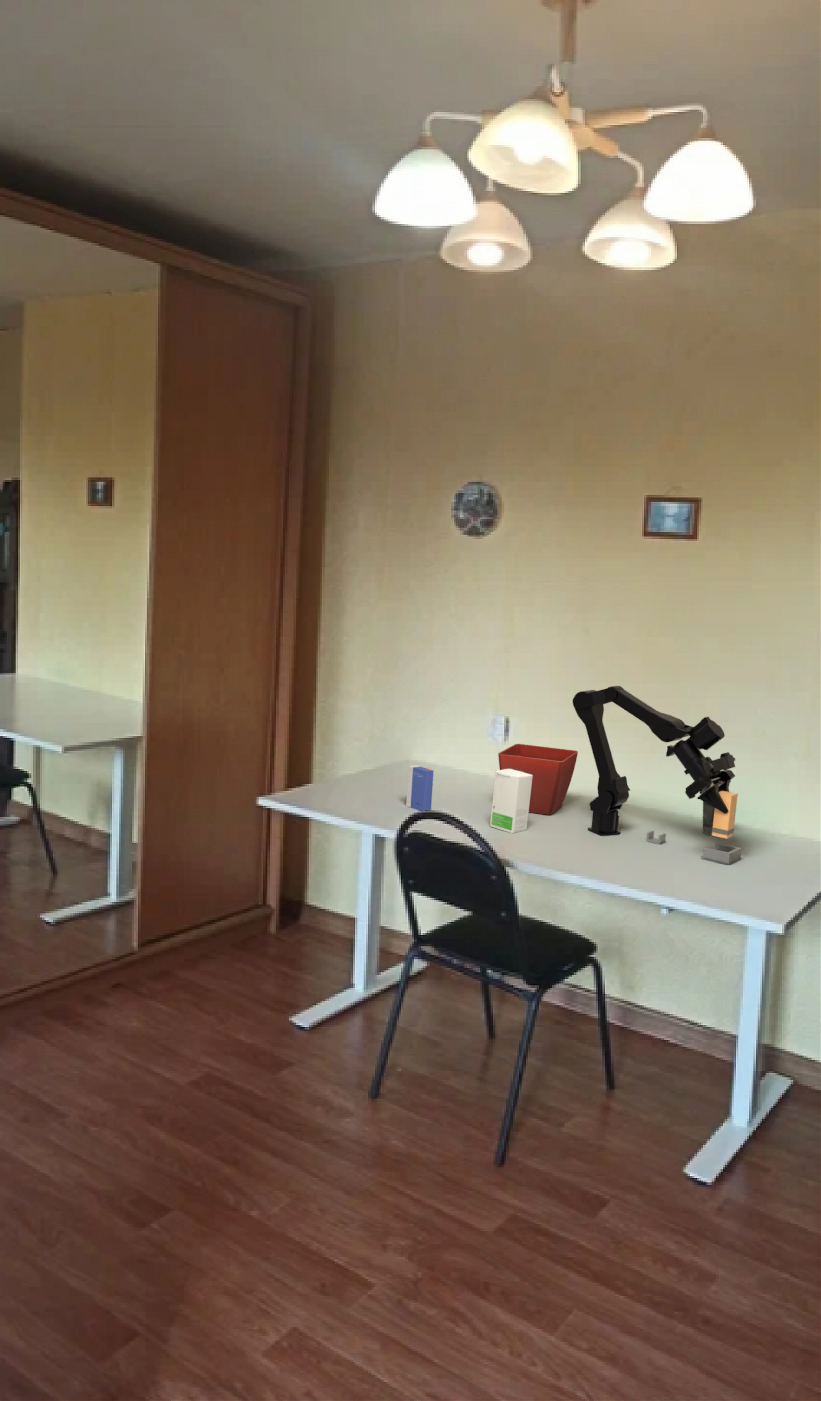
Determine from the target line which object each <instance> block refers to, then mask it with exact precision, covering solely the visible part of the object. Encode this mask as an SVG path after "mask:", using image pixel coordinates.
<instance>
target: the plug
mask: <svg viewBox="0 0 821 1401" xmlns="http://www.w3.org/2000/svg"><path fill="white" fill-rule="evenodd" d="M719 794H720V796H721V798H722V800H723V801H724V803H725V805H726V807H727V809H728V812H727V813H726V814H725V813H723V812H721V811H719V810H718V809H716V808H715V810H714V819H713V827H712V835H711V836H714V837H718V838H720V839H727V840H728V839H729V838H732V837H734V832H735V824H736V822H735V821H736V813H737V804H738V794H739V793H737V792H732V791H729V792H727V791H720V792H719Z"/></svg>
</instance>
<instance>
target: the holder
mask: <svg viewBox="0 0 821 1401" xmlns="http://www.w3.org/2000/svg"><path fill="white" fill-rule="evenodd" d="M741 850H742V848H741V847H737V846H733V845H728V844H724V843H721V842H720V843H719V842H714V848H710V847H704V848H703V855H702V856H701V855H700V859H701V860H705V861H709V862H713V863H718V864H722V865H725V866H730V865H732V864H734V863H737V862H738V861H740V860H741V853H742V852H741Z"/></svg>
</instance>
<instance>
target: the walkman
mask: <svg viewBox="0 0 821 1401" xmlns="http://www.w3.org/2000/svg"><path fill="white" fill-rule="evenodd" d="M407 773H408V774H407V775H408V776H407V787H406V801H405V802H406V803H405V804H406V807H408V806H409V808H412V809H415V810H417V811H420V812H423V811H425V810H431V811H432V799H433V798H432V797H433V784H434V770H433V769H432V768H430V767H423V766H420V765H415V764H414V765H408V772H407Z"/></svg>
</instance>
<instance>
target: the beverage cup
mask: <svg viewBox="0 0 821 1401" xmlns="http://www.w3.org/2000/svg"><path fill="white" fill-rule="evenodd" d="M714 810H715V808H714V807H713V806H711V805H709V804H707V803H705V802H704V801H702V833H703V834H704V835H707V836H712V827H713V819H714Z"/></svg>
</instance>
